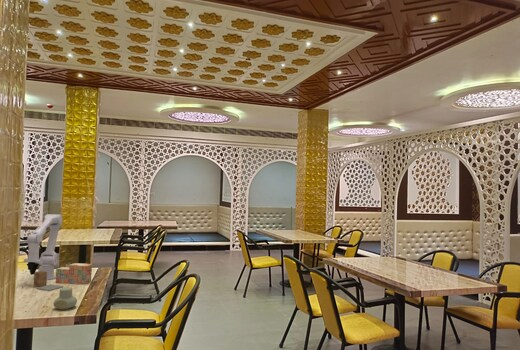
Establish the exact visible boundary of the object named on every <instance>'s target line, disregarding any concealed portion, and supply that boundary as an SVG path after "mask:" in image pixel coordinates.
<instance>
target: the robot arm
mask: <svg viewBox="0 0 520 350" xmlns="http://www.w3.org/2000/svg"><path fill="white" fill-rule="evenodd" d="M43 220H44V221H43V222H42V224H41V225H40V226H38V227H36V229H35V230H34V231H33V232H32V233H29V235H28V236H27V238H26V242H27V246H28V253H27V254H28V256H27V258H23V263H26V266H27V267H28V270H29V274H30V275H31V276H34V273H35V272H39V271H44V272H47V281H49V280H52V279H56V276H55V275H54V273H55V272H54V271H55V266H56V264H57V263H58V253H57V252H56V251H55V249H56V244H57V240H58V235H59V231H60V228H61V227H62V223H63V216H62V214H54V213H52V214H49V213H47V214H45V216H44V219H43ZM47 228H50V231H49V235H48V240H47V244H46V248H45V250H44V252H43V251H42V253H40V243H41V242H42V239H43V237H44V235H45V234H46V233H47ZM39 254H41V255H39ZM39 265H40V266H39ZM37 269H38V271H37Z"/></svg>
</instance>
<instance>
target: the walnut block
mask: <svg viewBox="0 0 520 350" xmlns="http://www.w3.org/2000/svg"><path fill="white" fill-rule="evenodd" d="M47 281H48V280H47V272H44V271H39V272H38V271H36V272H35V273H34V274H33V288H35V289H36V288H38V287H42V286H46V285H48V284H47Z"/></svg>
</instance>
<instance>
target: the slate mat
mask: <svg viewBox="0 0 520 350" xmlns="http://www.w3.org/2000/svg"><path fill="white" fill-rule="evenodd" d="M61 288H64V285H57V284H51V283H50V284H47V285H46V286H42V287H38V288H36V287H35V289H36V290H41V291H46V292H51V291H54V290H58V289H59V290H60V289H61Z"/></svg>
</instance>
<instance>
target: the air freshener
mask: <svg viewBox="0 0 520 350" xmlns="http://www.w3.org/2000/svg"><path fill="white" fill-rule="evenodd" d="M58 295H59V296H58V297H57V298H55V300H54V301H53V306H54V308H56V309H58V310H60V311H62V310H63V311H65V310H69V309H72V308H73V307H74V306H77V303H78V300H77V297H75V296H74V295H73V288H72V287H62V288H59V293H58Z"/></svg>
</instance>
